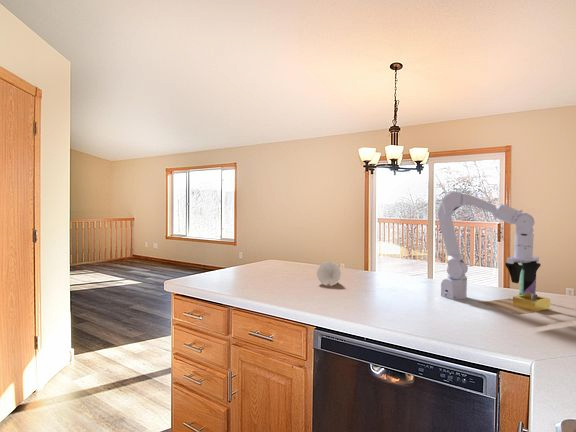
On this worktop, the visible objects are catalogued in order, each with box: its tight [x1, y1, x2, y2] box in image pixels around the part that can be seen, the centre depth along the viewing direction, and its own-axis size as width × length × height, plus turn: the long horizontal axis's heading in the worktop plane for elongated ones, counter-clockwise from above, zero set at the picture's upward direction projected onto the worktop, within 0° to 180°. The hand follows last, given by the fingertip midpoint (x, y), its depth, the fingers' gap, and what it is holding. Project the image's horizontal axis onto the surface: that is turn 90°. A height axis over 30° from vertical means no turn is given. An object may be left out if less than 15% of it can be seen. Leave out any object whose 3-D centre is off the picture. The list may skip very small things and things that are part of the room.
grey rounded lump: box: [316, 260, 342, 287], centre depth 172 cm, size 12×12×18 cm
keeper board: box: [478, 294, 553, 315], centre depth 129 cm, size 18×16×6 cm
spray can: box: [518, 262, 538, 295], centre depth 142 cm, size 6×6×20 cm
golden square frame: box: [512, 293, 551, 313], centre depth 126 cm, size 8×8×4 cm
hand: (522, 282), depth 128 cm, fingers open, 7 cm apart
